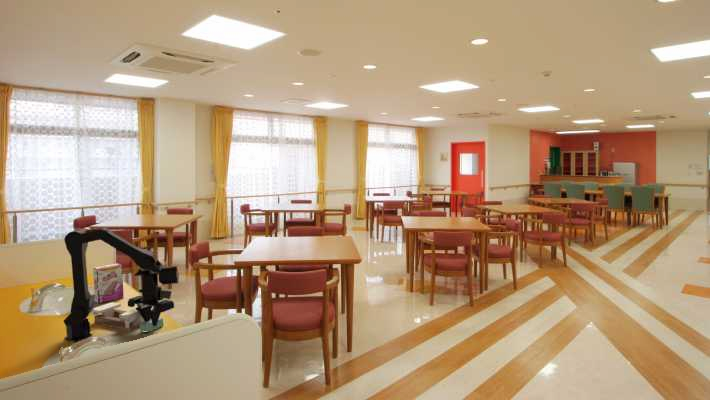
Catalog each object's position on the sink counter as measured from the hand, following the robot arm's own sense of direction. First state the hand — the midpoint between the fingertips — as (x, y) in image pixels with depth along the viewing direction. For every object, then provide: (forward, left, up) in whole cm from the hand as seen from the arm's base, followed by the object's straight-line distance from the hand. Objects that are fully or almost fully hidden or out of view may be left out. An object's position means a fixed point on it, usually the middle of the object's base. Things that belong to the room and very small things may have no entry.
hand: (151, 325), depth 161 cm
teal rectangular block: (0, 0, -1) cm, 1 cm away
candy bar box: (+18, +49, -2) cm, 52 cm away
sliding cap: (0, +26, 0) cm, 26 cm away
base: (0, +17, -2) cm, 17 cm away
